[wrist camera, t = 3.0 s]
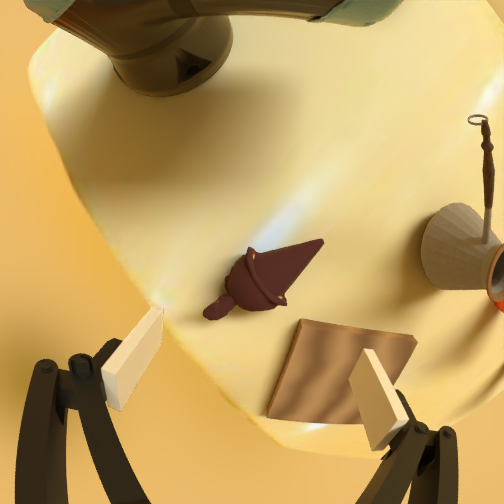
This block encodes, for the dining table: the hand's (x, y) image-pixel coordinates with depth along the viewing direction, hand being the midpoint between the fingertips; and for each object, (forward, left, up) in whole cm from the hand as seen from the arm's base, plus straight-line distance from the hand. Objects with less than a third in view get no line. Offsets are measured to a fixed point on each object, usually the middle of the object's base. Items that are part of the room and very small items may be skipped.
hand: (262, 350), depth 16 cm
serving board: (+15, -15, -17) cm, 27 cm away
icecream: (0, 0, -17) cm, 17 cm away
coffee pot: (+20, +12, -17) cm, 29 cm away
